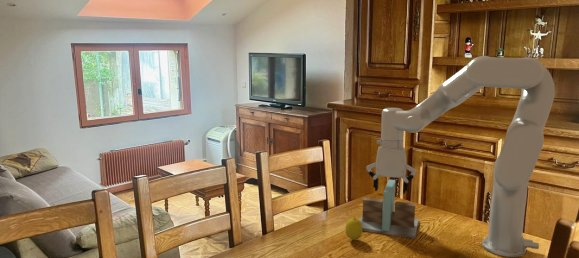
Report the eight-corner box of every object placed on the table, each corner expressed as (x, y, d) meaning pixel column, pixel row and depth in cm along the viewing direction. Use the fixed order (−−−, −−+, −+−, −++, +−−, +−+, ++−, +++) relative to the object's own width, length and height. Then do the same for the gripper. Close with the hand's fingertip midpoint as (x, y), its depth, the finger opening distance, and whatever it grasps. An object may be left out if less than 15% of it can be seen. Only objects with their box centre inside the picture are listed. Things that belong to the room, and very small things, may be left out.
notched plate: (389, 231, 148) (390, 192, 145) (381, 230, 148) (383, 191, 146) (393, 216, 161) (395, 180, 158) (387, 215, 161) (388, 179, 159)
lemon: (356, 235, 146) (357, 213, 145) (365, 242, 141) (365, 219, 140) (342, 238, 145) (342, 215, 143) (350, 245, 139) (350, 222, 138)
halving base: (418, 221, 158) (419, 198, 156) (415, 238, 144) (416, 213, 143) (363, 214, 165) (364, 191, 163) (355, 229, 151) (356, 205, 149)
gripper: (364, 144, 148) (363, 191, 152) (417, 147, 142) (414, 197, 146) (368, 140, 155) (367, 185, 158) (418, 143, 149) (416, 190, 153)
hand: (390, 191), depth 152 cm, fingers open, 9 cm apart
